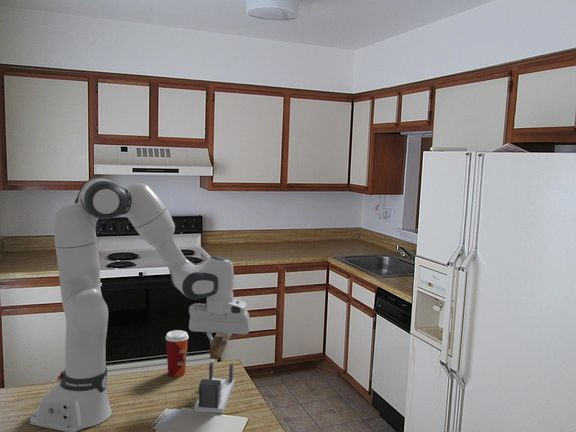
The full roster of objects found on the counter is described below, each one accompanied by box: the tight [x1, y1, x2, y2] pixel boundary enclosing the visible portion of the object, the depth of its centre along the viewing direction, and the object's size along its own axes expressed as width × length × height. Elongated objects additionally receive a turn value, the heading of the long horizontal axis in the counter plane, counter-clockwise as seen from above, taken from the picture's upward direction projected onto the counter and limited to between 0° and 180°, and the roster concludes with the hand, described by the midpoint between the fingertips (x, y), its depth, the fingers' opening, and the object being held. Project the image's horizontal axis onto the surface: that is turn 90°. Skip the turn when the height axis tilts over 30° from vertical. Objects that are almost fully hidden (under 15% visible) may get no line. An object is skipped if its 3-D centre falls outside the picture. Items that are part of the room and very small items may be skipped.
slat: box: [209, 333, 228, 360], centre depth 165 cm, size 3×14×5 cm, turn 176°
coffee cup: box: [165, 329, 190, 378], centre depth 178 cm, size 8×8×15 cm
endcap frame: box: [193, 361, 235, 414], centre depth 162 cm, size 9×20×9 cm, turn 176°
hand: (219, 344), depth 165 cm, fingers closed on slat, 3 cm apart
